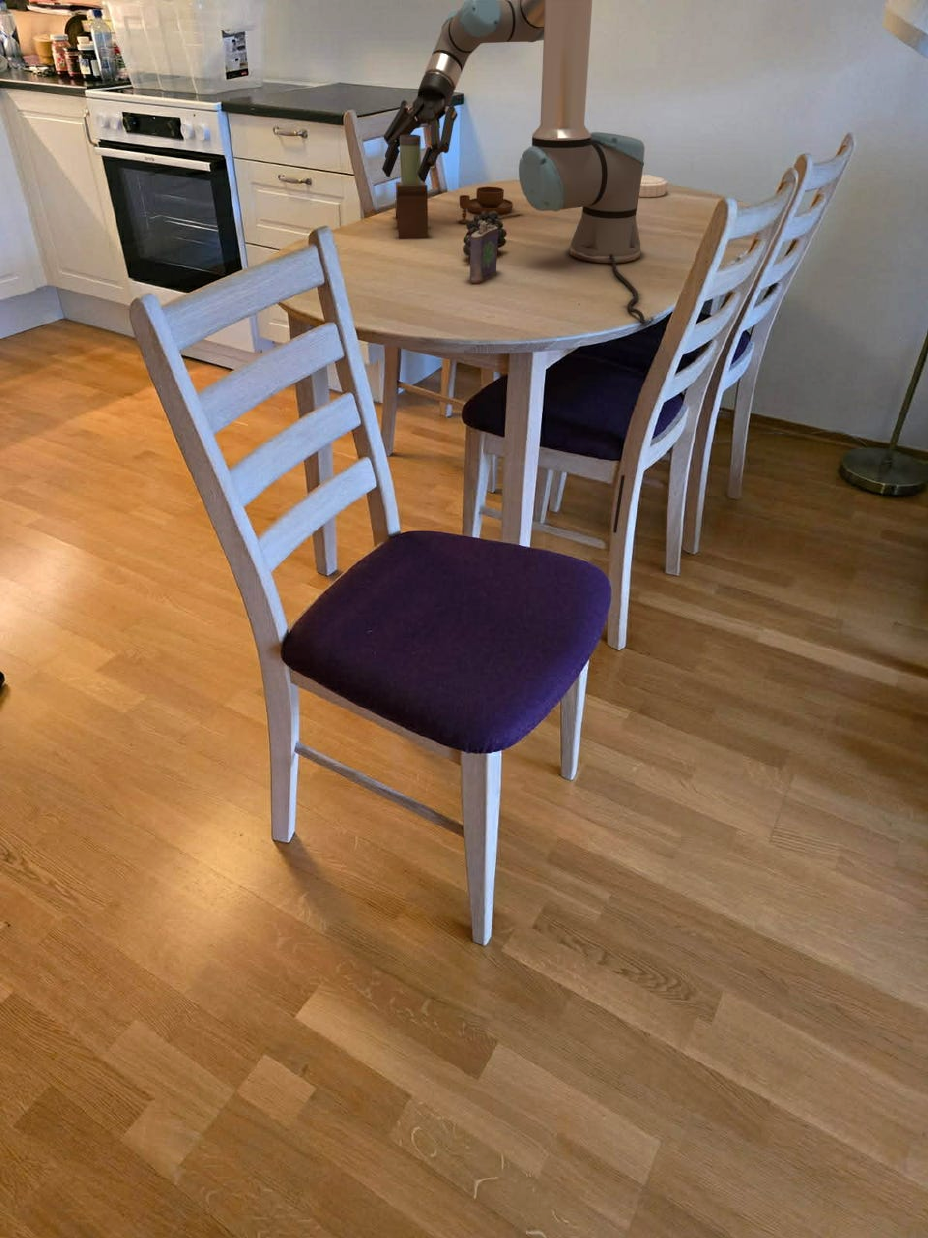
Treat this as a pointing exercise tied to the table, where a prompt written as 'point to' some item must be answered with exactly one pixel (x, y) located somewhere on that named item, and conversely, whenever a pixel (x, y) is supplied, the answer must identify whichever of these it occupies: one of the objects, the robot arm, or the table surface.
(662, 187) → the mooncake
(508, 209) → the place setting
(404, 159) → the spice jar
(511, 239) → the table surface
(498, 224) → the fruit
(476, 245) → the flask
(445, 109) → the robot arm
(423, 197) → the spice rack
